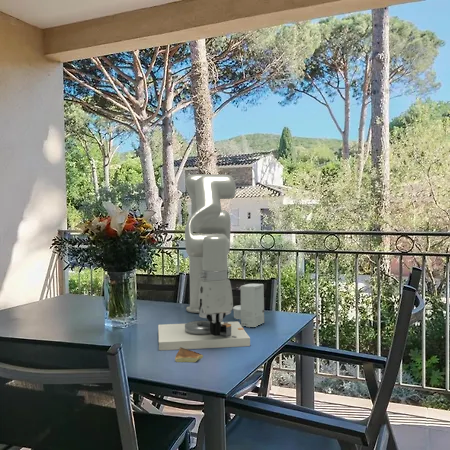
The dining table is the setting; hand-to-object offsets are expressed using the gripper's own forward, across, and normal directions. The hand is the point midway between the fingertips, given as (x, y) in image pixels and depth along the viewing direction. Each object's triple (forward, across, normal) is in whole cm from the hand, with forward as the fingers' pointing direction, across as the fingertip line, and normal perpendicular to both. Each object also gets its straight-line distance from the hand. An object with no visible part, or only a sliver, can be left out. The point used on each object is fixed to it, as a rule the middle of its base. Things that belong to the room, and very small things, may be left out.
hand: (215, 334), depth 152 cm
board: (+4, 0, +10) cm, 10 cm away
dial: (+1, +1, +7) cm, 7 cm away
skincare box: (+4, +25, +16) cm, 30 cm away
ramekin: (+4, +28, +26) cm, 39 cm away
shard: (+4, -14, -5) cm, 15 cm away
